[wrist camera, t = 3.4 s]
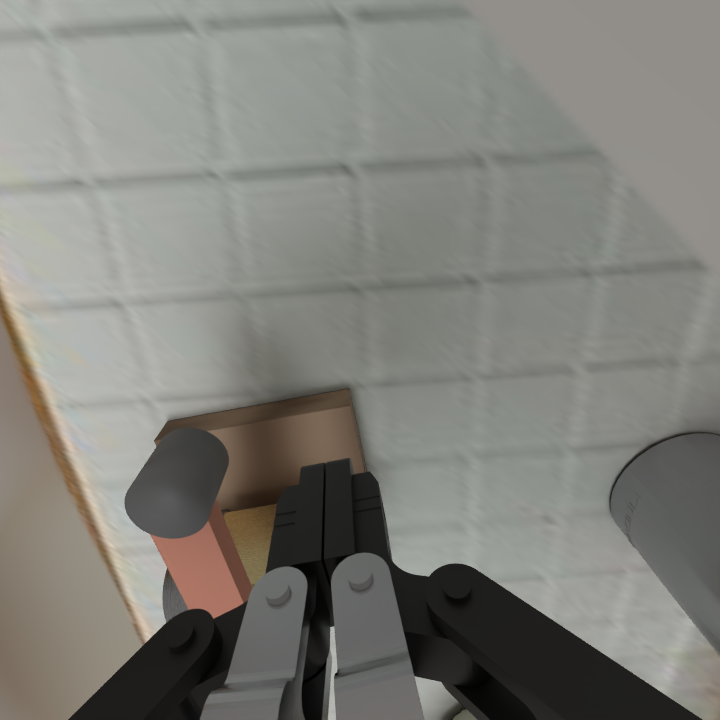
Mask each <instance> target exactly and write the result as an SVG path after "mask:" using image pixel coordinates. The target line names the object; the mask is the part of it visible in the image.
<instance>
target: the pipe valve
mask: <svg viewBox="0 0 720 720" xmlns="http://www.w3.org/2000/svg"><path fill="white" fill-rule="evenodd" d="M276 507H277V504H274V505H268V506H262V507H256V508H251V509H245V510H239V511H233V512H229V509H223V510H221V512H222V515H223V517H224V519H225V522H226V524H227V527H228V529H229V532H230V534H231V537H232V539H233V542H234V544H235V546H236V549H237V551H238V554H239V556H240V559H241V561H242V564H243V566H244V569H245V571H246V573H247V576H248V578H249V581H250V583H251V586H252V588H253V586H254V585H255V584H256V582H257V581H258V580H259V579H260V578H261V577H262V576H263V575H265V573H266V567H267V561H268V555H269V549H270V543H271V537H272V531H273V529H274V528H273V525H274V519H275V513H276ZM163 609H164V615H165V619H166V622H168V621H169V620H170V619H172V618H173V617H174V616H176V615H178V614H179V613H181V612H184V611H186V610H189V609H188V607H187V605H186V603H185V601H184V599H183V597H182V595H181V593H180V591H179V590H178V588H177V586H176V584H175V582H174V580H173V578H172V576H171V574H170V572H169V570H168V568H167V571H166V574H165V579H164V585H163Z"/></svg>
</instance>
